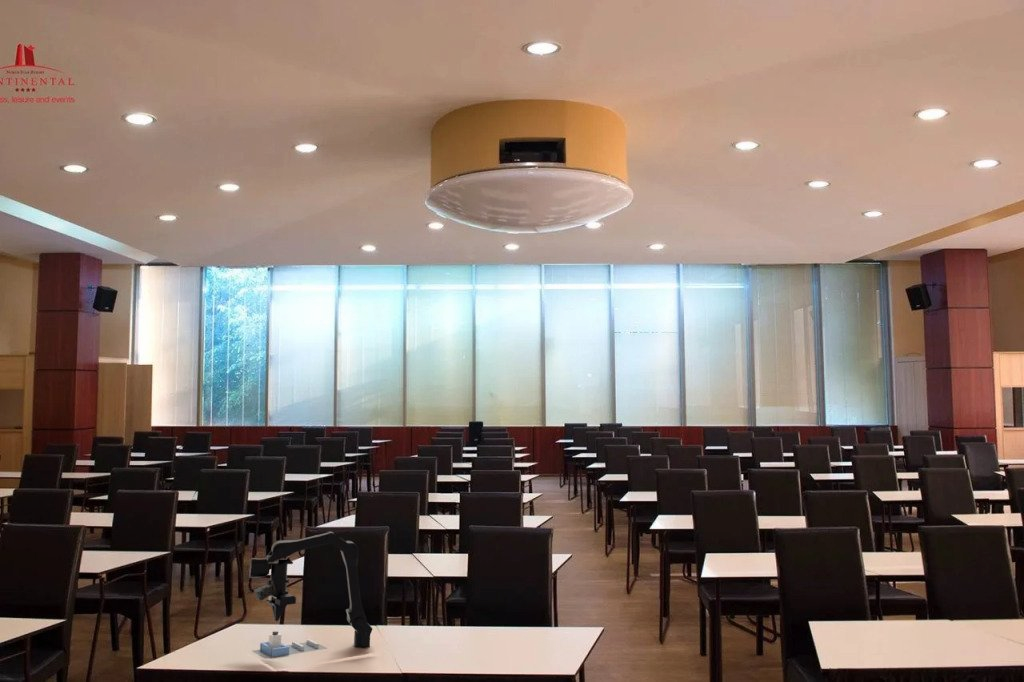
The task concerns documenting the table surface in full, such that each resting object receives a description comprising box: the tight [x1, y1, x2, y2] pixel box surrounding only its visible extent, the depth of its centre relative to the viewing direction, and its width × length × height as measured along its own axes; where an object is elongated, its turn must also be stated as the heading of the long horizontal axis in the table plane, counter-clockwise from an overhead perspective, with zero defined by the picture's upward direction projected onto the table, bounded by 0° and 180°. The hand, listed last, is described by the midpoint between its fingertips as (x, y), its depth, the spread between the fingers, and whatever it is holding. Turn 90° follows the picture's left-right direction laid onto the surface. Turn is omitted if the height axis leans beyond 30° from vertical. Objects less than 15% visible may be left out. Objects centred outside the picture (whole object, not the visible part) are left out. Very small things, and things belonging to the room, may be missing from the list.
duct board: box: [252, 638, 327, 659], centre depth 309 cm, size 12×24×4 cm, turn 129°
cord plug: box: [268, 630, 282, 648], centre depth 306 cm, size 3×3×8 cm
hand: (276, 620), depth 307 cm, fingers closed
